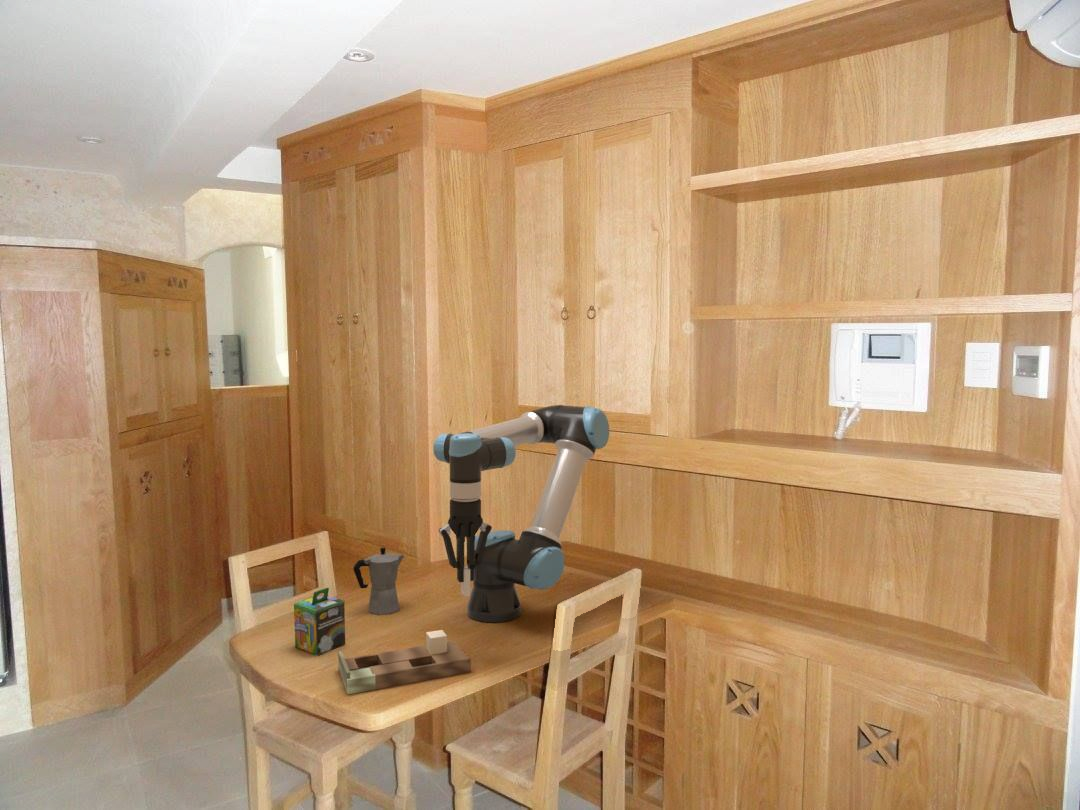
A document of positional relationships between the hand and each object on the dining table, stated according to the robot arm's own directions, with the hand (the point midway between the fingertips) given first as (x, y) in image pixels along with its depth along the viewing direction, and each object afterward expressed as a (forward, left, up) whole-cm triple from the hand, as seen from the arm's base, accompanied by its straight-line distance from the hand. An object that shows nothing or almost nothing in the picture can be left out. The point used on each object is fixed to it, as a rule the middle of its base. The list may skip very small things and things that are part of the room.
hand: (465, 594), depth 181 cm
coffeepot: (+13, -39, -16) cm, 44 cm away
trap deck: (+16, +3, -15) cm, 22 cm away
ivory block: (+7, 0, -13) cm, 15 cm away
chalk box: (+32, -20, -16) cm, 41 cm away
